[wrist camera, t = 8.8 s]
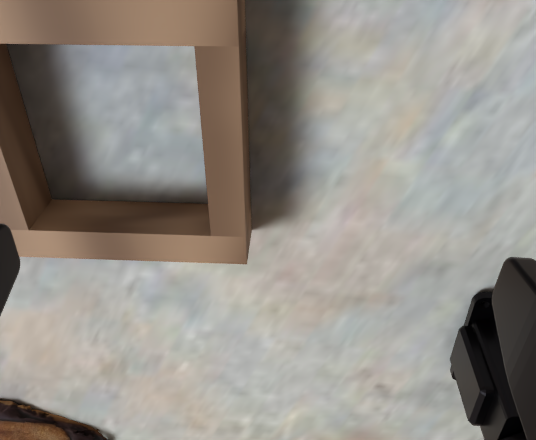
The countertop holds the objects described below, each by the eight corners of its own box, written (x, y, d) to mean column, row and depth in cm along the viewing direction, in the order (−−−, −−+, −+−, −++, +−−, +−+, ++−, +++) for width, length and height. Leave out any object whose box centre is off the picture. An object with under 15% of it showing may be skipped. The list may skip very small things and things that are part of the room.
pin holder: (244, -17, 18) (236, -2, 16) (251, 230, 25) (246, 264, 22) (-52, -18, 19) (-95, -4, 17) (29, 224, 25) (5, 255, 23)
